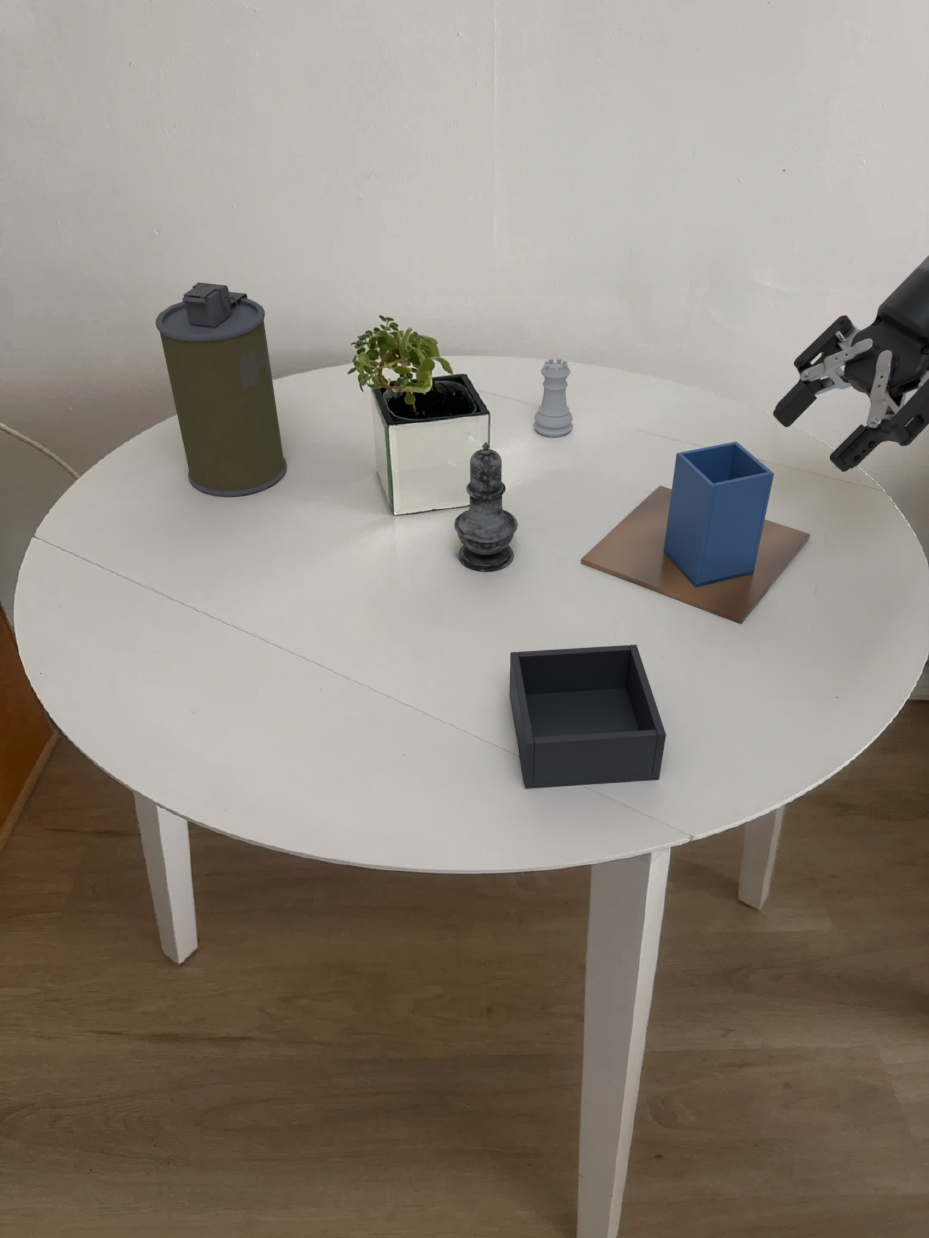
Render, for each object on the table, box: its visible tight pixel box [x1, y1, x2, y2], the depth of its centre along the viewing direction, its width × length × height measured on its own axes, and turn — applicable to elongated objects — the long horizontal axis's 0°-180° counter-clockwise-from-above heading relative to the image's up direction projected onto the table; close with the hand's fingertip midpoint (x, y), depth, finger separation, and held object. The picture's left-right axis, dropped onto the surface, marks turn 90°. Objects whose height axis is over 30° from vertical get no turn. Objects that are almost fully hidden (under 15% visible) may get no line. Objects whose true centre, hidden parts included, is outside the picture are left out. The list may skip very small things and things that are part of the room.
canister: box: [155, 282, 288, 497], centre depth 101 cm, size 11×10×20 cm
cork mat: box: [580, 485, 811, 625], centre depth 94 cm, size 16×16×1 cm
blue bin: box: [663, 441, 775, 587], centre depth 89 cm, size 6×6×10 cm
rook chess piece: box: [533, 358, 574, 438], centre depth 111 cm, size 4×4×8 cm
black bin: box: [509, 644, 667, 789], centre depth 74 cm, size 10×10×5 cm
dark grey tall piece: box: [453, 441, 519, 573], centre depth 91 cm, size 6×6×12 cm
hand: (806, 442), depth 87 cm, fingers open, 8 cm apart
